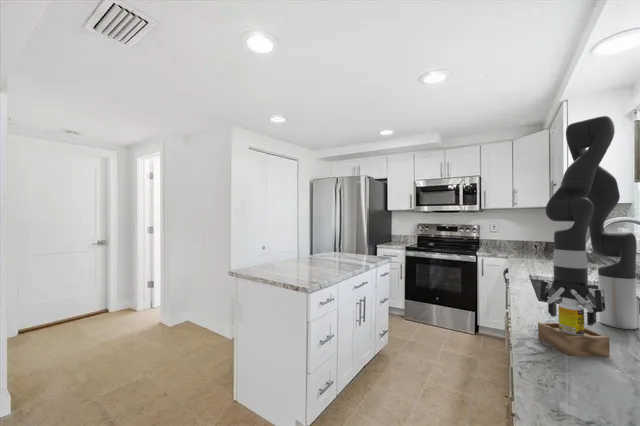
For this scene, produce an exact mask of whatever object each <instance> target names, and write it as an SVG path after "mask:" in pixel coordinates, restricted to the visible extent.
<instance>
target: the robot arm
mask: <svg viewBox="0 0 640 426" xmlns="http://www.w3.org/2000/svg"><path fill="white" fill-rule="evenodd" d="M615 132H616V131H615V124H614V121H613V119H612V118H611V117H610V116H607V115H602V116H596V117H592V118H589V119H588V118H587V119H584V120H581V121H576V122H573V123H572V122H571V123H570V124H568V125H567V126H566V130H565V139H566V143H567V145H568V149H569V152H570V155H571V158H572V161H573V162H572V163H571V164H570V165H569V166H568V167H567V169H566V170H565V172H564V174H563V177H562V181H561V183H560V185H559V188H558V189H556V191H555V193H553V195H552V196H551V197H550V199H549V200H548V202H547V204H546V206H545V215H546V217H547V218H548V219H549V220H551V221H553V222H574V223H573V225H572V226H571V227H569V228H565V229H563V228H562V229H558V230H555V232H554V234H553V241H554V242H553V244H554V245H553V246H554V248H553V249H554V250H553V260H552V264H553V282H552V281H549V280H542V281H541V282H540V300H541V301H545V302H546V303H547V306H548V308H547V309H548V311H547V312H548V314H550V316H551V317H553V318H554V317H556V316H557V303H556V302H557V301H558V300H559V299H562V297H564V298H569V299H574V300H577V301H579V302H580V305H581V306H583V308H584V309H586V310H587V312H586V313H587V314H586V319H587V322H586V323H587V325H588V326H590V327H592V326H594V325H595V324H596V323H597V313H598V318H599V319H598V320H599V323H600V324H603V325H606V326H608V327H613V328H617V329H625V330H637V329H640V300H639V299H637V286H636V285H637V281H636V275H637V273H636V271H637V270H636V268H637V261H636V260H637V245H638V244H637V239H636V236H635V234H634V233H633V232H631V231H606V230H605V228H604V225H605V222H606V220H607V218H608V217H609V215H610V214H611V213H612V211H613V210H614V209H615V208H616V206H617V205H618V203H619V201H620V198H621V197H620V190H619V185H618V181H617V179H616V178H615V176H614V175H612V174H611V172H609V171H608V170H607V169H605V168H604V167H602V166H601V165H600V164H601V162H602V160H603V159H604V157H605V155H606V154H607V151H608V149H609V147H610V146H611V143H612V142H613V139H614V137H615ZM588 230H589V238H590V244H591V249H592V251H593V252H594V254H595V255H596V256H600V257H607V258H608V257H609V258H620V259H619V261H618V262H616V263H614V264H610V265H609V264H608V265H603V266H599V267H598V268H597V279H598V280H597V281H598V284H597V285H598V286H597V287H598V289H597V288H596V289H595V288H590V287H589V280H588V279H589V278H588V276H589V274H588V273H589V272H588V271H589V269H588V266H589V265H588V256H587V255H588V254H587V243H586V242H587V240H586V239H587V233H588ZM551 288H553V290H555V292H554V293H553V294H552V295H551V296H549V294H550V289H551ZM588 294H591V295H592V297H594V298H595V299H594V301H595V305H594V304H593V303H592V300H591V299H590V298H589V297H588Z"/></svg>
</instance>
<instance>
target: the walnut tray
mask: <svg viewBox="0 0 640 426" xmlns="http://www.w3.org/2000/svg"><path fill="white" fill-rule="evenodd" d="M537 335H538V336H537V338H538V339H539V340H540V341H542V342H544V343H546V344H548V346H551V347H552V348H554V349H557V350H558V351H559V352H562V353H563V354H566V355H567V356H570V357H573V356H574V357H576V356H579V357H580V356H581V357H583V356H584V357H610V356H611V351H610V345H611V344H610V337H609V336H606V335H604V334H602V333H599V332H597V331H594V330H592V329H589V328H587V327H585V326H584V335H582V336H574V335H569V334H566V333H563V332H561V331H560V330H559V322H539V321H538V322H537Z"/></svg>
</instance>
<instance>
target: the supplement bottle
mask: <svg viewBox="0 0 640 426" xmlns="http://www.w3.org/2000/svg"><path fill="white" fill-rule="evenodd" d="M558 323H559V330H560V331H561V332H563V333H566V334H569V335H574V336H582V335H584V327H585V307H584V306H583V305H582V304H581V303H580V302H579V301H577V300H574V299H569V298H564V297H561V302H559V303H558Z"/></svg>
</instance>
